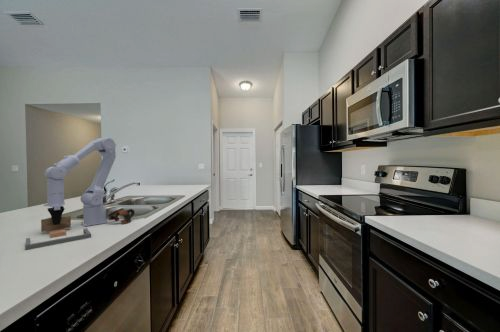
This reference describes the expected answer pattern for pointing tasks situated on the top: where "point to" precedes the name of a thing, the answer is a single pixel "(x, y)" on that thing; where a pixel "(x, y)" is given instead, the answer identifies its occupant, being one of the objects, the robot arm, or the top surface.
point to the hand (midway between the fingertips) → (56, 223)
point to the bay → (57, 240)
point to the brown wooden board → (48, 225)
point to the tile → (57, 233)
